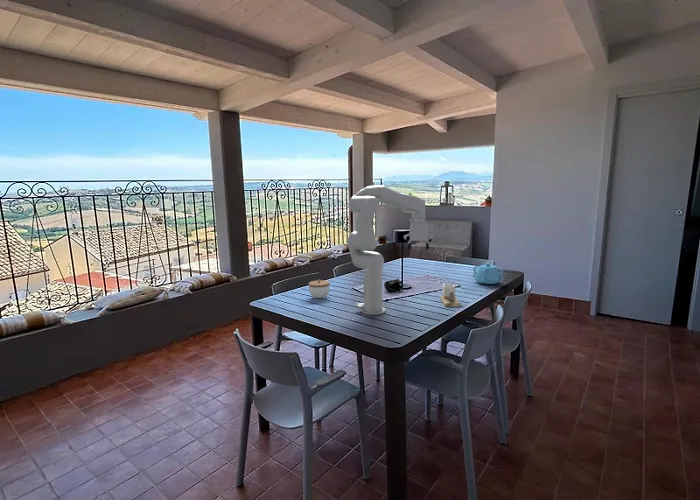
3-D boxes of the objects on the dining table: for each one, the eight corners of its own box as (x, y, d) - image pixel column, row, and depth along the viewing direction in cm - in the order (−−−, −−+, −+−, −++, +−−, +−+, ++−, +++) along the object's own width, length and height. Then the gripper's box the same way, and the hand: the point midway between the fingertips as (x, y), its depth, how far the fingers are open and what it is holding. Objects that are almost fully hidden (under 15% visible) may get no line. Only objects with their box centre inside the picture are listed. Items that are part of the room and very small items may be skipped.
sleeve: (444, 299, 202) (444, 286, 201) (442, 296, 208) (442, 284, 207) (455, 299, 202) (455, 286, 201) (453, 296, 208) (453, 284, 207)
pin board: (444, 306, 195) (444, 294, 194) (440, 299, 209) (440, 287, 208) (459, 306, 195) (460, 293, 194) (454, 299, 209) (454, 287, 207)
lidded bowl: (327, 300, 213) (326, 282, 211) (306, 300, 215) (305, 281, 214) (332, 294, 225) (331, 277, 223) (312, 294, 228) (312, 277, 226)
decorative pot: (470, 280, 251) (471, 261, 249) (493, 279, 252) (494, 260, 249) (480, 286, 235) (480, 266, 233) (504, 285, 235) (505, 265, 233)
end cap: (396, 288, 237) (395, 278, 236) (403, 290, 231) (403, 280, 230) (384, 290, 231) (383, 280, 230) (391, 293, 226) (391, 282, 225)
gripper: (403, 221, 208) (403, 251, 210) (434, 221, 206) (434, 251, 208) (403, 220, 215) (403, 249, 218) (432, 220, 213) (432, 249, 216)
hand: (418, 250), depth 213 cm, fingers open, 9 cm apart
